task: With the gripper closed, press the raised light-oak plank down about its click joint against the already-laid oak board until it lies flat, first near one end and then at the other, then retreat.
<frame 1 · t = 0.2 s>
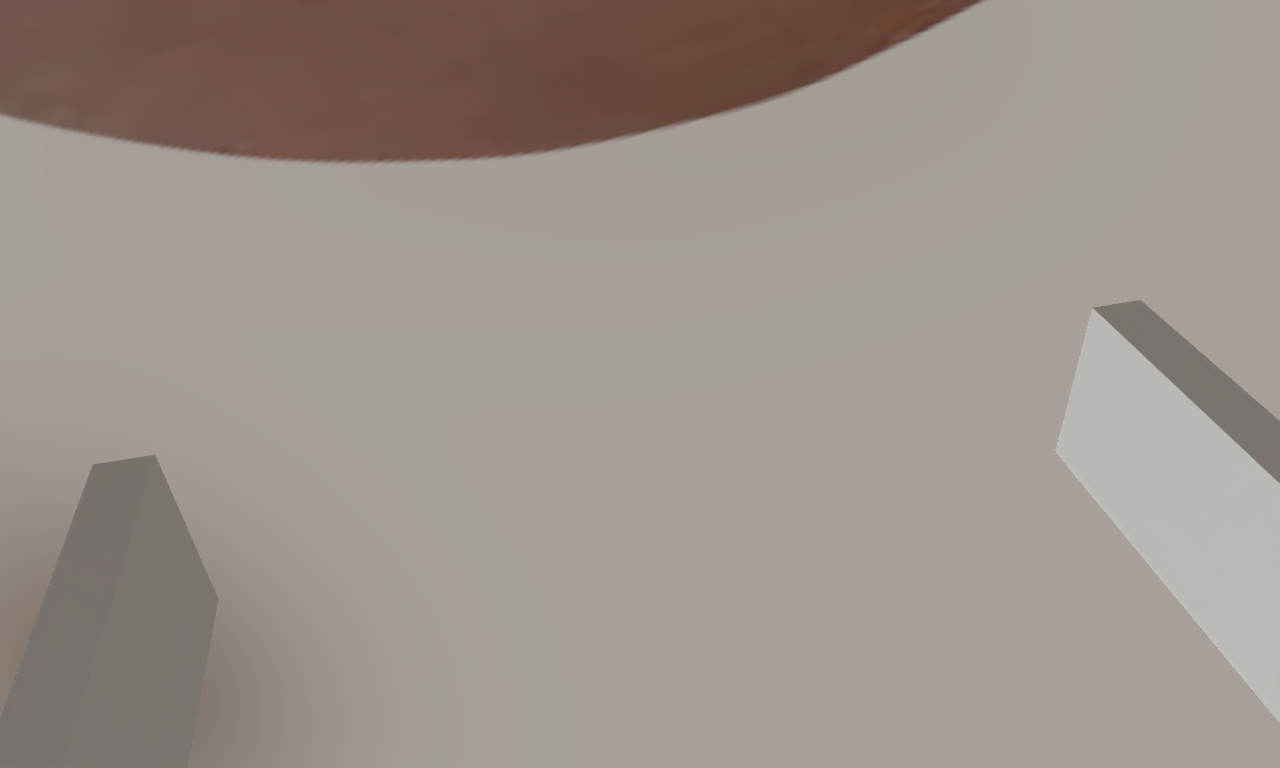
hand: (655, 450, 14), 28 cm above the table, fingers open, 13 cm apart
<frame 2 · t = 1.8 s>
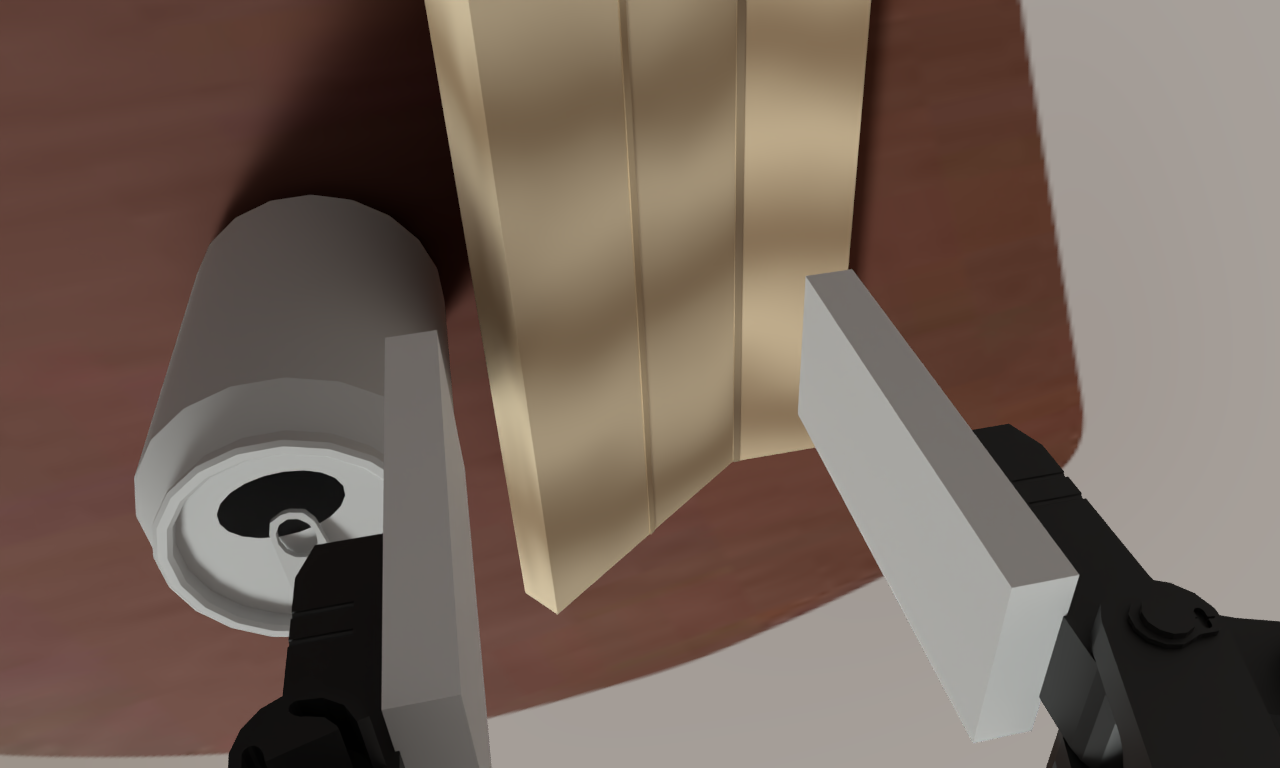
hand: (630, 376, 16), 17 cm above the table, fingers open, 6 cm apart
can: (325, 286, 33), on the table
plank: (619, 280, 30), point 4 cm above the table, hinge at 38.0°
laid board: (780, 197, 34), on the table
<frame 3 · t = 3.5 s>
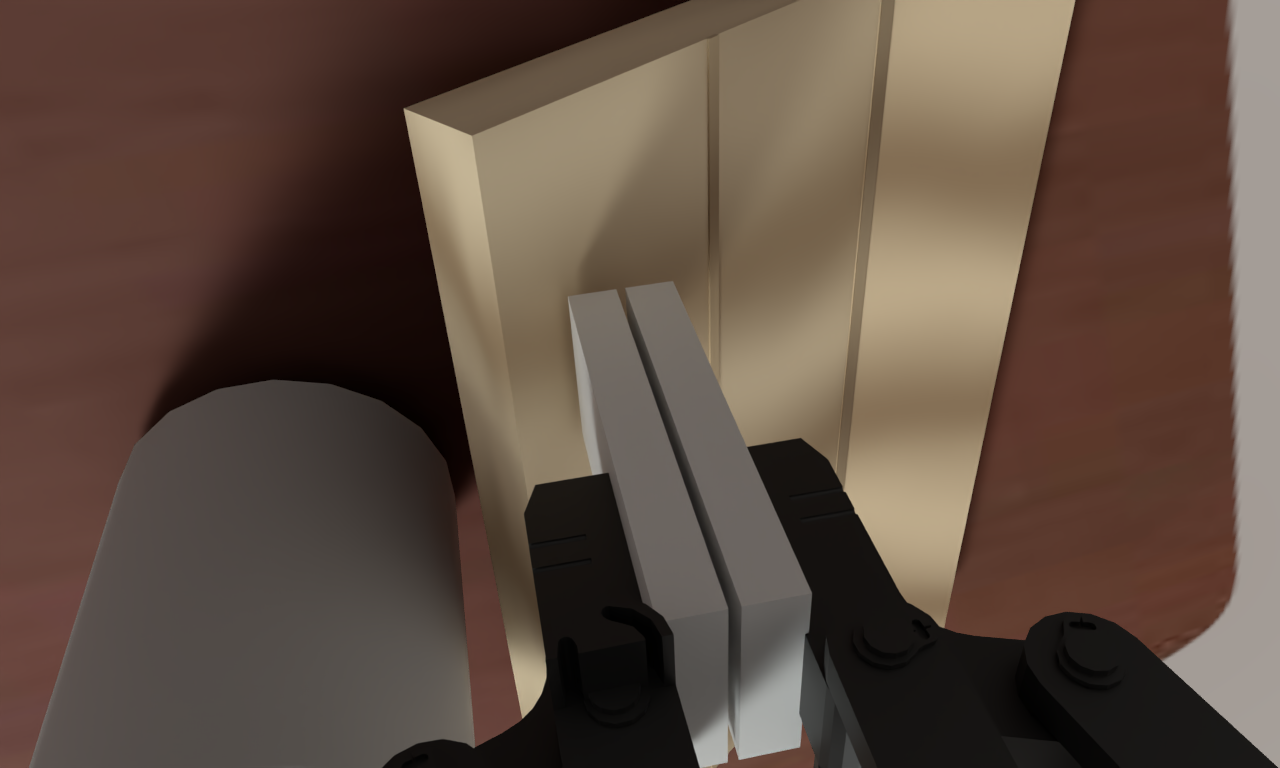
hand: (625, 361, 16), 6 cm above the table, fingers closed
can: (296, 478, 25), on the table
plank: (688, 488, 22), point 4 cm above the table, hinge at 34.6°, touching gripper
laid board: (895, 352, 26), on the table
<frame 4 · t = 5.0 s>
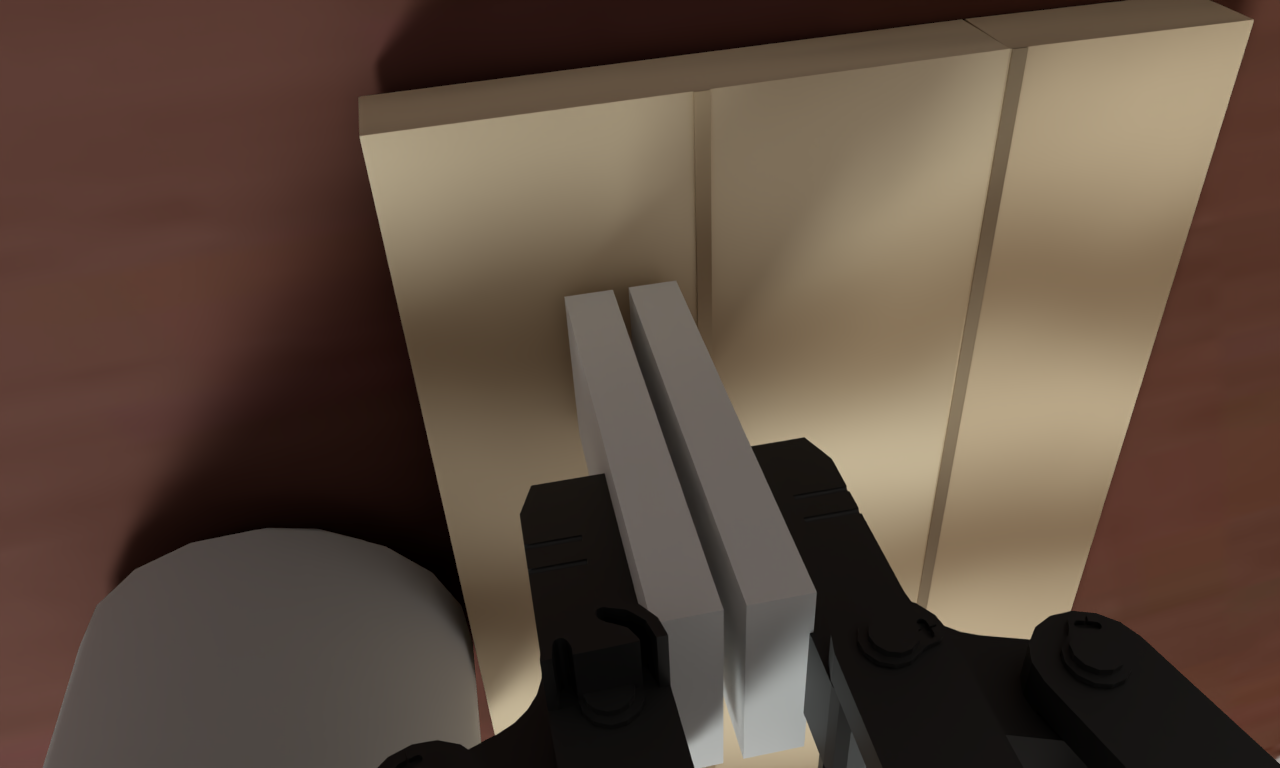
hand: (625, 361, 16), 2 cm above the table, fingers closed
can: (289, 622, 21), on the table
plank: (697, 551, 21), point 1 cm above the table, hinge at 2.1°
laid board: (984, 467, 22), on the table
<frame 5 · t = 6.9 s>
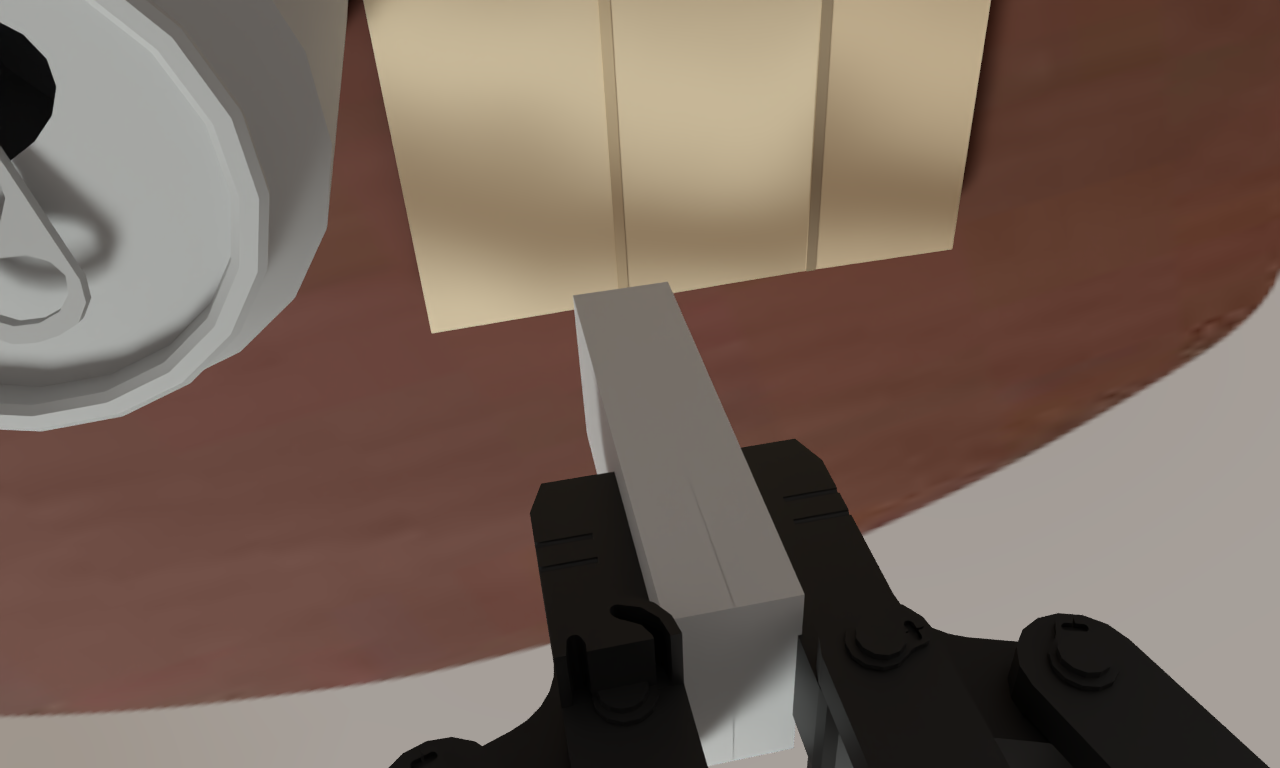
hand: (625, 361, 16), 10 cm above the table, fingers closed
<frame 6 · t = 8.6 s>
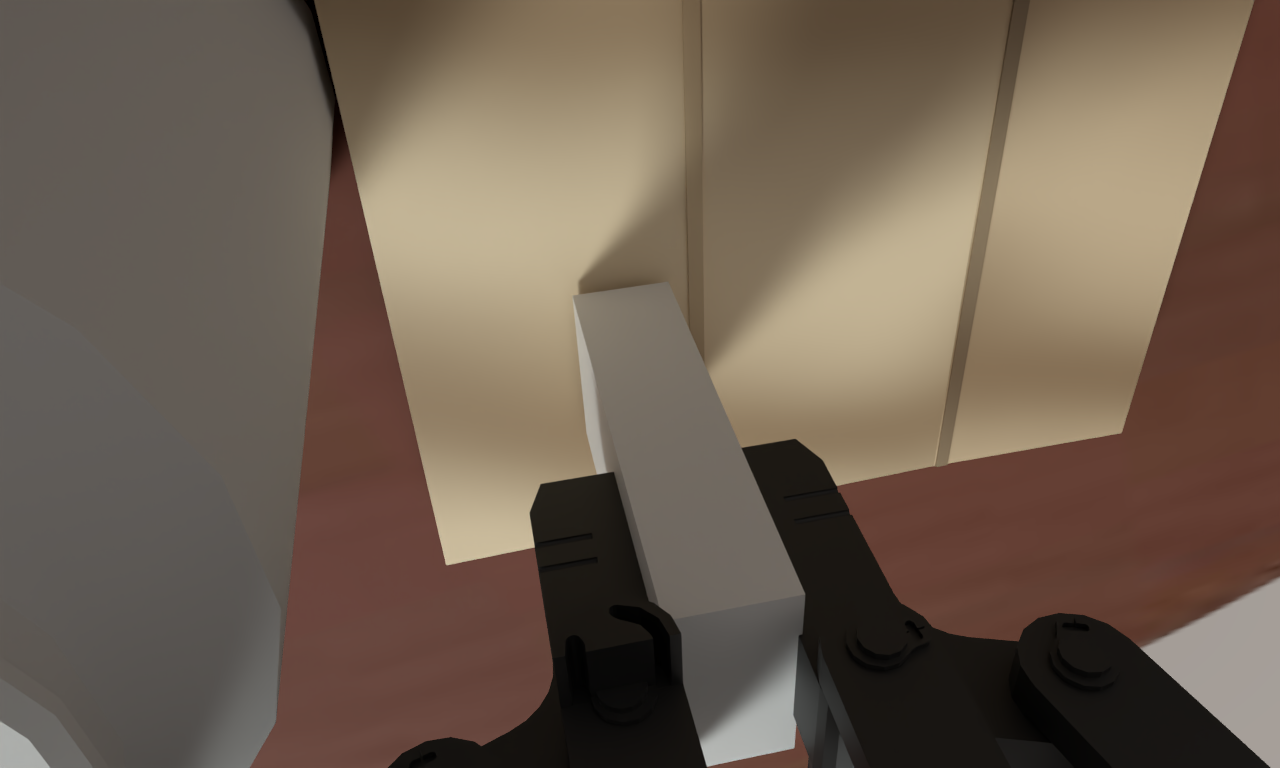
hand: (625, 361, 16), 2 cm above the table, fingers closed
can: (59, 70, 14), on the table
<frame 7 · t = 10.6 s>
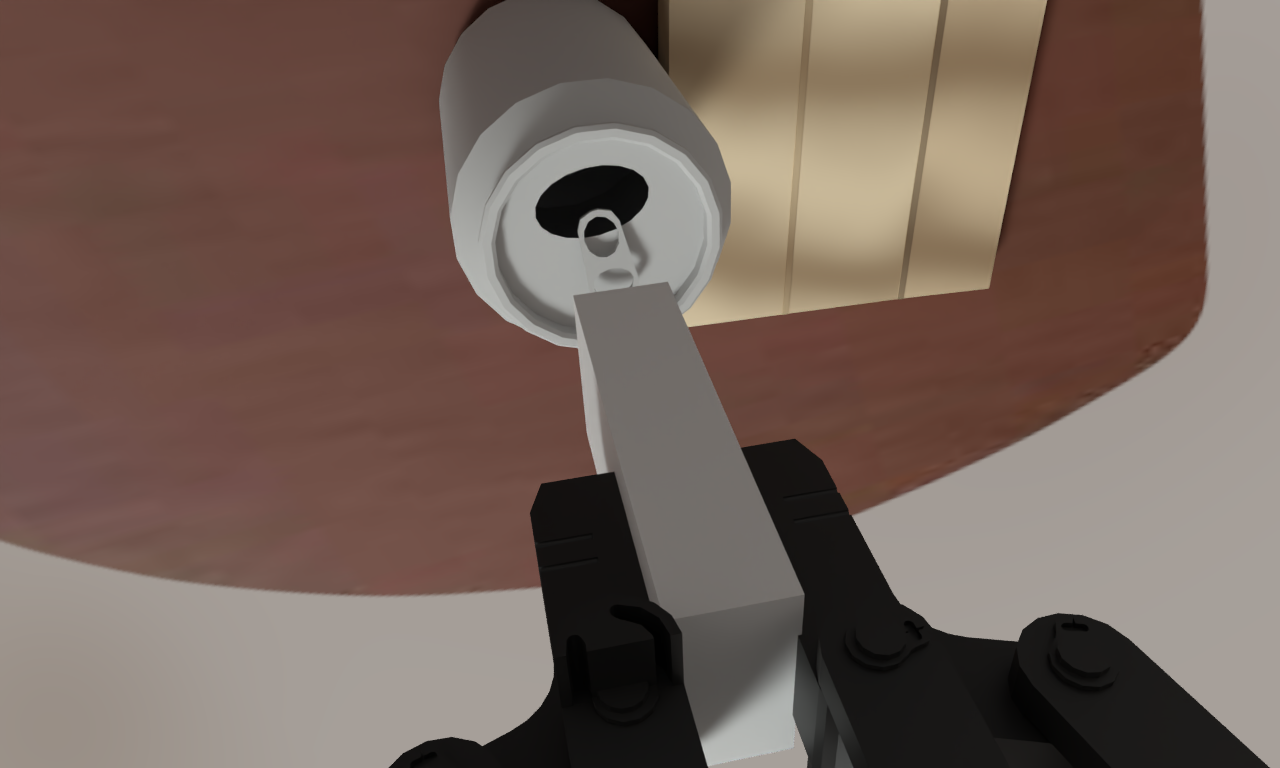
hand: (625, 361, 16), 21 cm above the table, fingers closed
can: (547, 95, 35), on the table
plank: (797, 52, 35), point 1 cm above the table, hinge at 1.9°
laid board: (967, 31, 37), on the table
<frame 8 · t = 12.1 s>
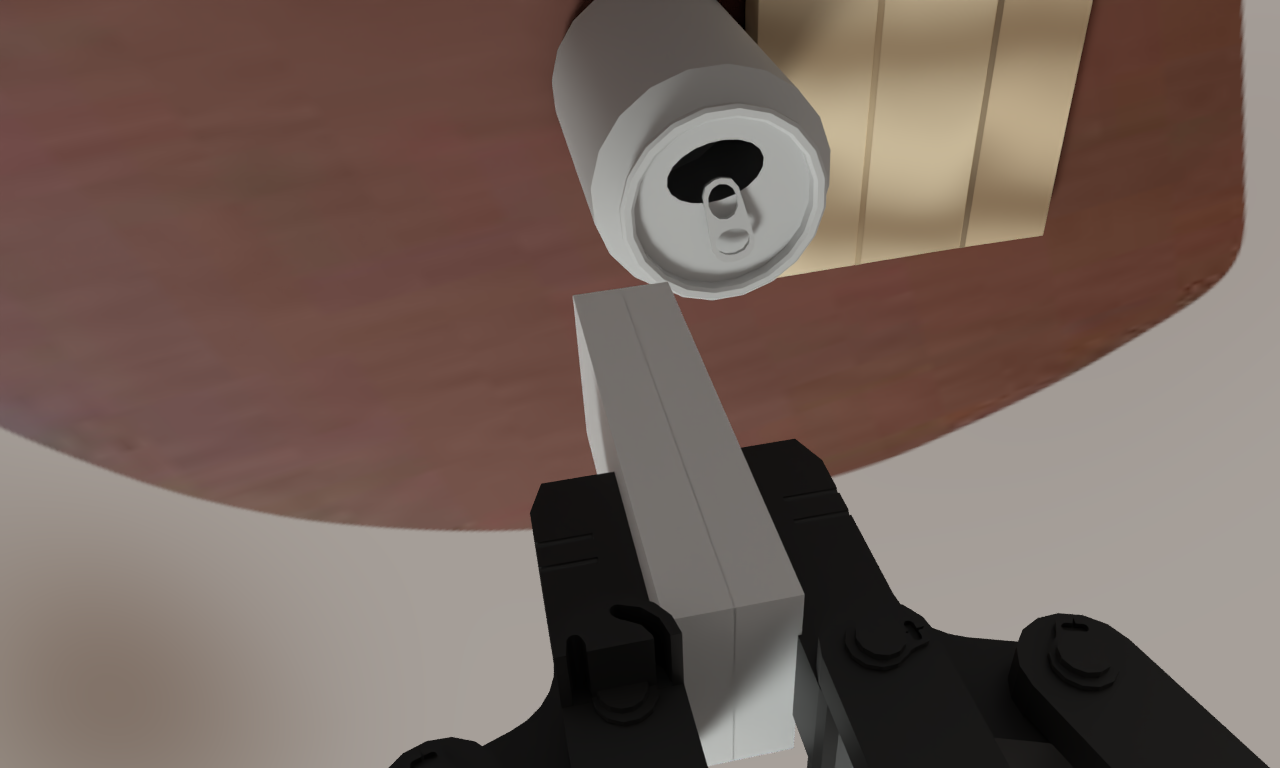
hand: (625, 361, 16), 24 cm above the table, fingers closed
can: (645, 72, 39), on the table
plank: (870, 25, 38), point 1 cm above the table, hinge at 1.9°
laid board: (1024, 0, 40), on the table
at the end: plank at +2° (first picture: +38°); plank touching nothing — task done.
